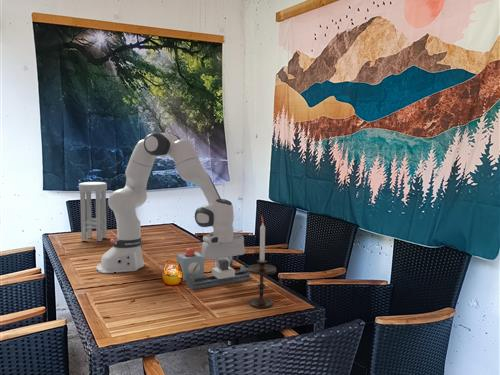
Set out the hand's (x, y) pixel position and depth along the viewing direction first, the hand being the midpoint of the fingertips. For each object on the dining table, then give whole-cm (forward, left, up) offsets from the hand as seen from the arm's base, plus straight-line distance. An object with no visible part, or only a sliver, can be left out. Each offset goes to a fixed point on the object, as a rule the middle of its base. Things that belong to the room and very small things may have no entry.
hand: (223, 266), depth 196 cm
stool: (-34, +106, -7) cm, 112 cm away
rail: (-2, 0, -7) cm, 7 cm away
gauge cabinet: (-10, +13, -7) cm, 18 cm away
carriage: (0, 0, -4) cm, 4 cm away
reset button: (-10, +13, +2) cm, 17 cm away
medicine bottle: (+11, +20, -7) cm, 24 cm away
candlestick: (+1, -31, -7) cm, 32 cm away
